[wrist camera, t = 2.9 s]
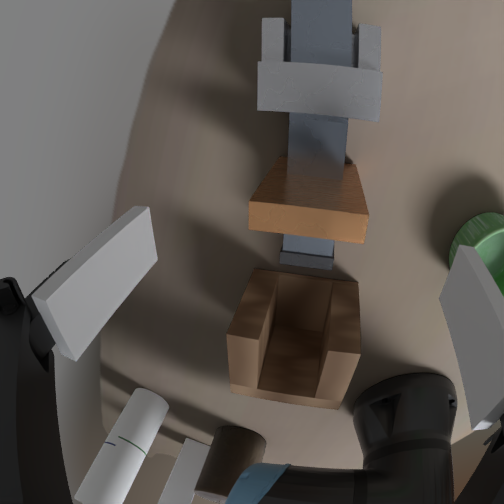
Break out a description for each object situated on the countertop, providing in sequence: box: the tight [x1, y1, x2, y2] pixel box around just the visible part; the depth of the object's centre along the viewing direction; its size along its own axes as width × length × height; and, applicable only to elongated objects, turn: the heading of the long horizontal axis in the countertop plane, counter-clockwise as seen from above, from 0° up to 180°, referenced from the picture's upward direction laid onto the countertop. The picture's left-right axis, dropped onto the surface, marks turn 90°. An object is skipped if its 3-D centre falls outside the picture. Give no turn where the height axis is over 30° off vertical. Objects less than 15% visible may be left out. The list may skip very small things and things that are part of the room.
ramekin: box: [449, 212, 504, 297], centre depth 21 cm, size 9×9×4 cm
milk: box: [158, 438, 211, 504], centre depth 49 cm, size 6×6×22 cm
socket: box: [226, 268, 361, 410], centre depth 28 cm, size 10×8×9 cm
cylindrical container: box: [74, 388, 169, 504], centre depth 40 cm, size 7×7×25 cm
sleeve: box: [257, 18, 383, 122], centre depth 17 cm, size 7×6×6 cm
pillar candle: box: [194, 426, 266, 504], centre depth 44 cm, size 10×10×15 cm
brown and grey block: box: [249, 0, 369, 270], centre depth 18 cm, size 6×20×10 cm, turn 0°
